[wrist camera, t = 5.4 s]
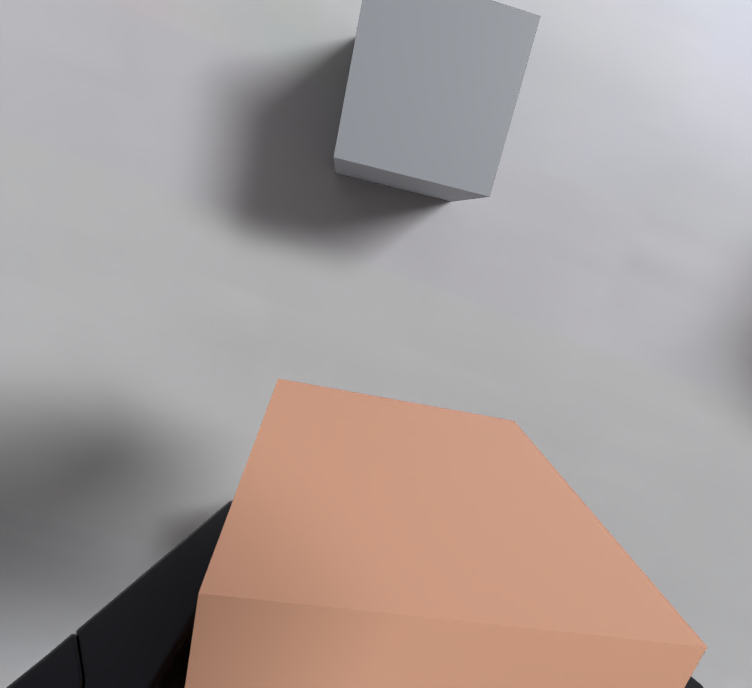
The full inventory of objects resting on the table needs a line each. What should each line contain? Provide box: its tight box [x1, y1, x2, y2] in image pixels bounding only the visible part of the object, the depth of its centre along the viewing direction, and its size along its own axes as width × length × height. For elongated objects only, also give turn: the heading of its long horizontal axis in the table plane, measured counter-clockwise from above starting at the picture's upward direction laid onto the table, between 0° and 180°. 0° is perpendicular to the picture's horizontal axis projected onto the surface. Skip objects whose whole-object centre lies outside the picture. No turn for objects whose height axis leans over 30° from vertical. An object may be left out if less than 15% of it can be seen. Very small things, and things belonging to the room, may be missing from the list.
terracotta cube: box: [185, 379, 707, 688], centre depth 7 cm, size 5×5×5 cm
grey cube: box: [334, 0, 540, 202], centre depth 15 cm, size 5×5×5 cm
